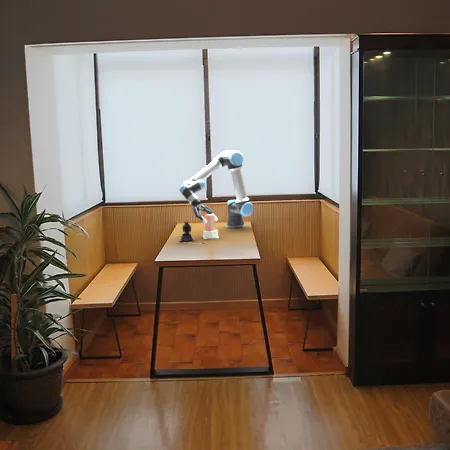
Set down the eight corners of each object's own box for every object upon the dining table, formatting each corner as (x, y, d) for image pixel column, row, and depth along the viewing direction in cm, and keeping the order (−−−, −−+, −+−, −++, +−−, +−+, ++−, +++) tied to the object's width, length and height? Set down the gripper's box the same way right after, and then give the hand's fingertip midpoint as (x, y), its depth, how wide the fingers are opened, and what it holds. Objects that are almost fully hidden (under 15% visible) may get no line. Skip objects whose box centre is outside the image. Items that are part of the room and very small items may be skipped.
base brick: (209, 235, 409) (209, 229, 409) (218, 236, 405) (217, 230, 404) (203, 237, 403) (202, 231, 402) (211, 238, 398) (211, 231, 398)
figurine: (194, 242, 392) (193, 222, 390) (177, 242, 395) (176, 222, 392) (197, 240, 400) (195, 220, 398) (181, 240, 403) (179, 220, 400)
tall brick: (209, 229, 407) (208, 214, 405) (214, 230, 404) (214, 214, 402) (205, 230, 403) (204, 215, 401) (211, 231, 400) (210, 215, 398)
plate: (216, 236, 410) (216, 235, 410) (219, 239, 400) (219, 237, 400) (202, 238, 409) (202, 236, 408) (204, 240, 398) (204, 239, 398)
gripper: (201, 202, 419) (218, 222, 413) (181, 206, 399) (198, 227, 393) (206, 196, 416) (223, 216, 409) (186, 199, 395) (204, 221, 389)
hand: (211, 221), depth 401 cm, fingers open, 13 cm apart
